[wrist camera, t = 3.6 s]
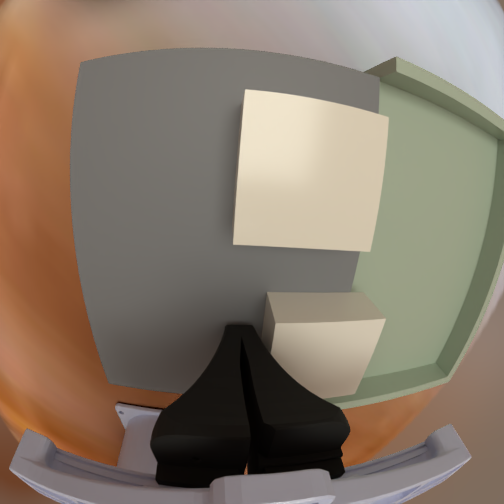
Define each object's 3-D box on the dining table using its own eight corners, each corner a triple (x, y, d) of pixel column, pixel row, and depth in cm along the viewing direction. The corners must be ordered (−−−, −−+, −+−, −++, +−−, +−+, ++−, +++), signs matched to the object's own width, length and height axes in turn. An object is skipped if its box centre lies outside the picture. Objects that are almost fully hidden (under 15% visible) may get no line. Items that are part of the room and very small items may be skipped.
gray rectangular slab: (308, 362, 18) (319, 392, 15) (121, 354, 17) (108, 383, 14) (353, 89, 12) (379, 77, 9) (105, 75, 11) (80, 62, 8)
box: (427, 354, 20) (448, 381, 16) (309, 371, 19) (323, 412, 15) (484, 131, 13) (522, 135, 9) (358, 74, 12) (396, 56, 8)
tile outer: (344, 232, 12) (370, 252, 9) (232, 225, 11) (232, 244, 9) (358, 122, 10) (388, 117, 8) (241, 103, 10) (245, 89, 7)
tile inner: (340, 364, 15) (354, 394, 12) (257, 369, 14) (262, 403, 12) (363, 292, 13) (386, 318, 11) (266, 291, 12) (275, 323, 10)
